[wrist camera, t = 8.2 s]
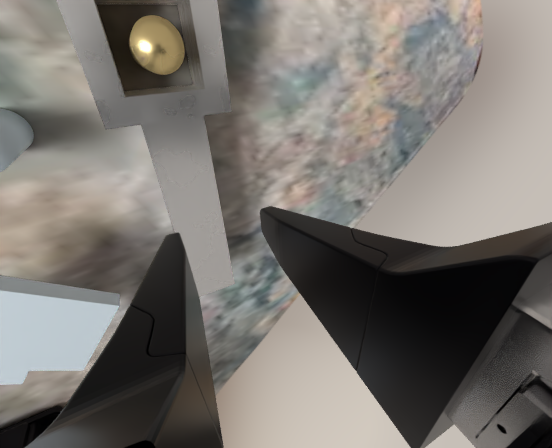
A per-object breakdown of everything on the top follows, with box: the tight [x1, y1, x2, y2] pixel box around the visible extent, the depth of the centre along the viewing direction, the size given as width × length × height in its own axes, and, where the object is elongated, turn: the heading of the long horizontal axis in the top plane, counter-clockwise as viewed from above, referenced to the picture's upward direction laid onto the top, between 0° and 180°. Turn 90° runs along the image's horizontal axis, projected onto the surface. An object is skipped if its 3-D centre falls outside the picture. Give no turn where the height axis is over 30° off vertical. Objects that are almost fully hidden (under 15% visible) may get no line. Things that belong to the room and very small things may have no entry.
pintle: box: [129, 15, 185, 75], centre depth 12 cm, size 2×2×4 cm
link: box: [57, 0, 235, 297], centre depth 16 cm, size 18×6×3 cm, turn 2°
